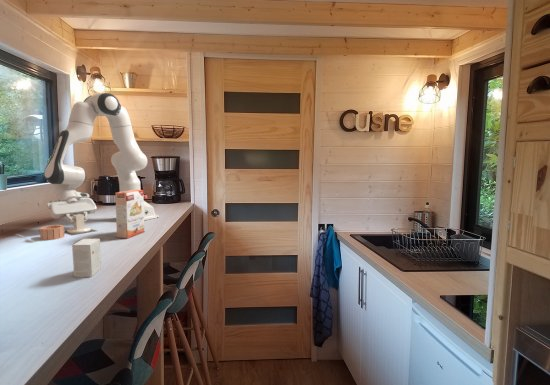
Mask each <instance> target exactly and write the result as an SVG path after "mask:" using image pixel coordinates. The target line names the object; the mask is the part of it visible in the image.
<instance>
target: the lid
mask: <svg viewBox="0 0 550 385" xmlns="http://www.w3.org/2000/svg"><path fill="white" fill-rule="evenodd" d="M72 218H74V220H75V223H72V224H73V227H71V228H68V229H66V231H67V232H68V233H70V234H78V233H84V234H87V233H86V232H89V231H91V229H92V227H91V226H86V225H85V221H84V215H82V214H77V215H73V216H72ZM89 233H90V232H89ZM78 235H79V234H78Z"/></svg>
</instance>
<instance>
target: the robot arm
mask: <svg viewBox="0 0 550 385" xmlns="http://www.w3.org/2000/svg"><path fill="white" fill-rule="evenodd" d="M119 101H120V100H119V99H118V98H117V96H116V95H114V94H113V93H110V92H109V93H108V92H104V93H96V94H94V95H89V96H87V97H86V98H85V99H84V100H83V101H77V102H75V103H74V104H73V105H72V109H71V111H70V114H69V118H68V123H67V126H66V127H65V129H64V130H61V131H60V133H59V134H58V136H57V138H56V140H55V144H54V146H53V150H52V152H51V155H50V158H49V161H48V163H47V165H46V166H45V169H44V170H43V171H44V172H43V173H44V174H43V176H44V178H45V180H46V181H47V182H49V184H50V185H51V186H52V190H53V192H54V193H55V194H56V198H57V200H49V202H47V203H46V206H47V208H48V209H49V213H50V217H51V218H52V219H62V218H65V219H66V220H68V222H69V223H70V224H73V223H75V220H74V218H73V215H77V214H82V215H84V222H88V217H87V216H88V215H91V214H95V213H96V211H97V209H98V207H97V205H96V203H95V202H94V200H93V199H92V198H90V194H89V193H86V192H80V191H77V190H76V189H79V188H80V187H82V185H83V184H85V182H86V180H87V172H86V170H85V168H83V167H82V166H81V167H80V166H78V165H77V166H76V165H70V164H64V159H65V156H66V155H67V154H66V153H67V150H68V148H69V147H70V146H71V145H73V144H76V143H77V144H78V143H83V142H86V141H89V140H90V138H91V137H92V135H93V133H94V126H95V120H96V117H106V118H107V120H108V125H109V129H110V133H111V137H112V141H113V143H114V144H115V145H116V146H117V148H118V149H119V151H117V152H115V153H113V154H112V156H111V158H110V162H111V165H112V167H114V169H115V172H116V174H117V178H118V184H119V186H118V187H119V192H123V191H129V190H142V189H141V188H142V187H141V180H140V178H139V177H138V176H137V173H136V172H139V171H141V170H144V169H145V168H146V167H147V165H148V157H147V156H146V154H144V152H143V151H142V150H141V147H139V145H138V141H137V140H136V138H135V135H134V129H133V125H132V121H131V118H130V115H129V113H128V111H127V108H126V107H124V106H122V105H121V103H120V102H119ZM143 195H144V199H148V195H147V194H143ZM157 217H158V218H159V217H160V215H159V214H157V213H155V208H154V206H153V205H151V204H149V203H148V202H147V201H145V200H144V221H147V220H153V219H156V218H157ZM158 218H157V219H158Z"/></svg>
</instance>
